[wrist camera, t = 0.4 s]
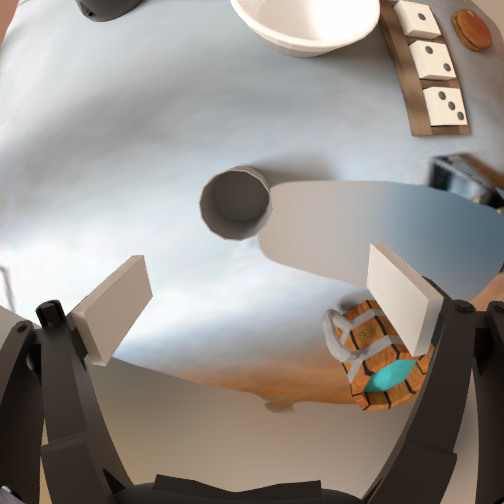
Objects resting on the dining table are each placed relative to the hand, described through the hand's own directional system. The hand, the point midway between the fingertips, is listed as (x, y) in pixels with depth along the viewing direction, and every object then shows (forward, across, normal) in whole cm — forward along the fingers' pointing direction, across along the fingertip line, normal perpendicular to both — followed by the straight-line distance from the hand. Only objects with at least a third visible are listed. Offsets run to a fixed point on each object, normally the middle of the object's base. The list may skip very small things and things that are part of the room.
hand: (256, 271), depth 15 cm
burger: (+27, +44, +36) cm, 63 cm away
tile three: (+25, +30, +15) cm, 42 cm away
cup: (+27, -3, +1) cm, 27 cm away
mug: (+27, +16, -24) cm, 40 cm away
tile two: (+25, +29, +23) cm, 45 cm away
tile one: (+25, +28, +31) cm, 49 cm away
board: (+27, +29, +23) cm, 46 cm away
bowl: (+27, +8, +29) cm, 40 cm away
